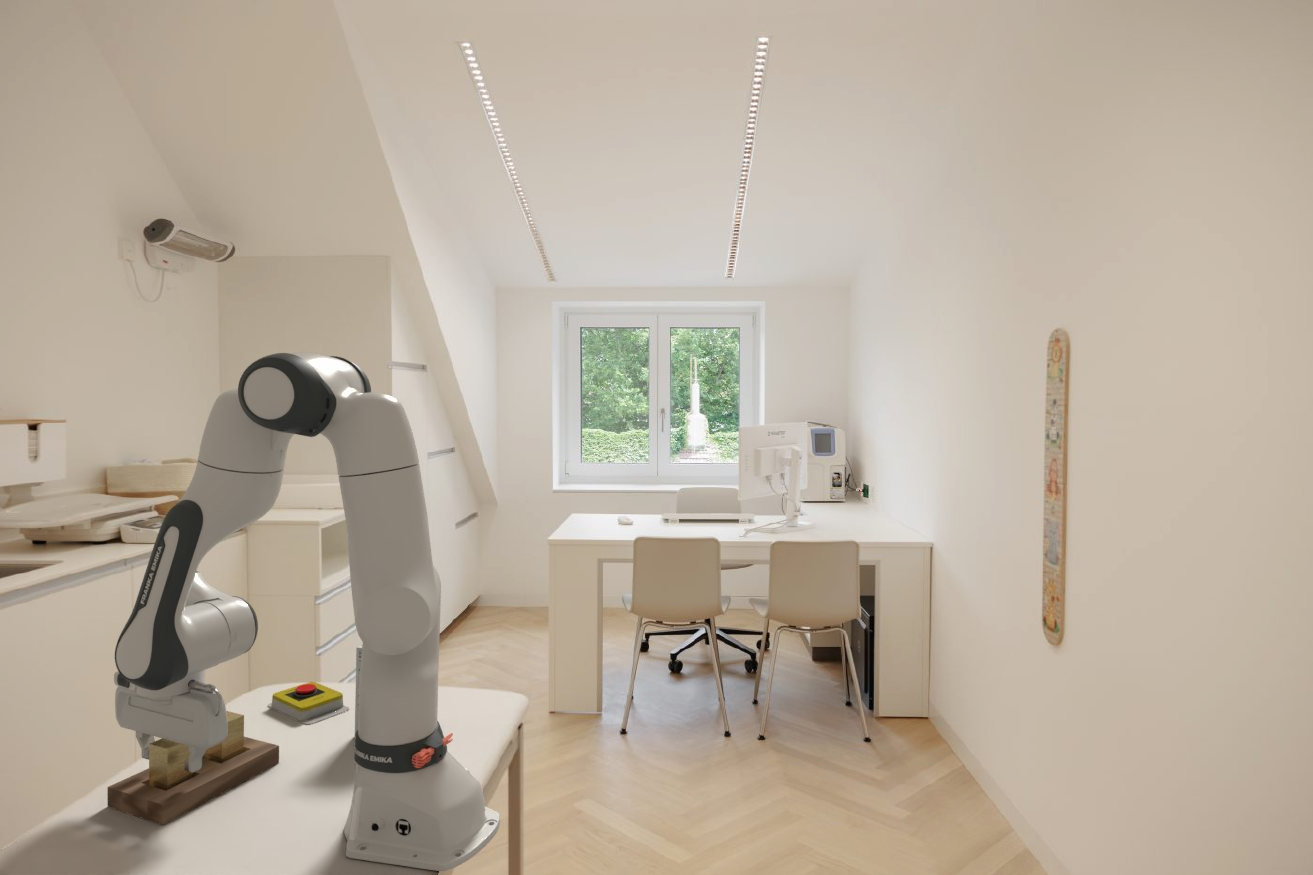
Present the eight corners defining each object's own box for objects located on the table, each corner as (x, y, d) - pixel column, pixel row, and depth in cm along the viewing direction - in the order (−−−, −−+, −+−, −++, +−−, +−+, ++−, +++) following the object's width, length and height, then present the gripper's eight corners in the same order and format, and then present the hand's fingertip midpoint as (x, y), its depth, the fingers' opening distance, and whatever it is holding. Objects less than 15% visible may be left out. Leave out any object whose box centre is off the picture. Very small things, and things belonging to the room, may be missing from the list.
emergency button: (309, 673, 153) (352, 690, 145) (309, 693, 153) (351, 711, 145) (265, 686, 145) (308, 705, 137) (265, 708, 146) (307, 728, 137)
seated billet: (243, 767, 121) (244, 715, 121) (221, 778, 118) (222, 724, 117) (226, 762, 123) (226, 710, 122) (204, 773, 119) (204, 720, 119)
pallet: (278, 762, 123) (279, 745, 123) (162, 825, 104) (162, 804, 104) (227, 748, 127) (228, 732, 127) (107, 806, 109) (107, 787, 109)
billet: (192, 794, 113) (192, 737, 112) (167, 807, 109) (167, 749, 109) (174, 788, 114) (174, 733, 114) (149, 801, 110) (149, 743, 110)
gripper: (239, 679, 110) (238, 768, 111) (147, 659, 117) (147, 742, 118) (200, 694, 104) (200, 788, 105) (106, 672, 111) (106, 759, 112)
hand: (171, 763), depth 111 cm, fingers open, 8 cm apart
